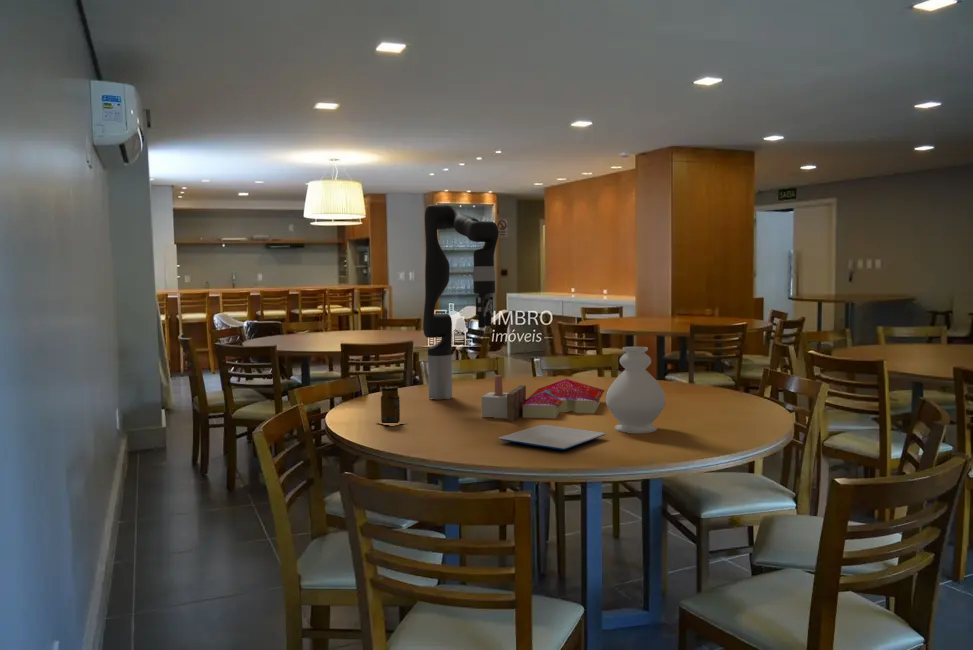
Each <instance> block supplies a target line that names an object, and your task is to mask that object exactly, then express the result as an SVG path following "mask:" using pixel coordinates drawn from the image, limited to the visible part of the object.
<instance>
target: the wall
mask: <svg viewBox="0 0 973 650" xmlns="http://www.w3.org/2000/svg"><path fill="white" fill-rule="evenodd" d="M526 388H527V384H524V385H523V384H520V385H518V386H516V387H515V388H514V389H512V390H510V391H509V392H507V393H508V394H507V418H506V419H507V422H510V423H511V422H514V421H516V420H517V419H518V418H519V417H520V416H521V415H522V416H523V405H521V404H522V403H523V402H524V401H525V400H526V399H527V389H526ZM520 405H521V407H520ZM518 406H519V407H518Z"/></svg>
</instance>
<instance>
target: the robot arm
mask: <svg viewBox="0 0 973 650" xmlns="http://www.w3.org/2000/svg"><path fill="white" fill-rule="evenodd" d="M449 229H454V231H456V232H457V234H460V235H461V236H464V237H466V238H467V239H468V240H469V241H471V242H473V243H474V242H475V243H484V245H483V247H481V248H479V249H475V250H474V251H473V271H472V278H473V279H472V281H473V282H472V283H473V286H472V287H473V294H475V295H478V297H475V316H477V319H478V321H477V322H478V323H477V324H478V326H477V327H478V328H479V329H482V328H483V329H484V328H485V327H492V315H493V313H494V296H492V295H491V294H495V293H496V271H495V252H496V246H497V242H498V240H499V234H500V232H499V227H498V225H497V223H495V222H494V221H481V220H480V221H479V220H478V219H477V218H476V217H472V216H469V215H467V214H463V213H462V212H460V211H459V210H457V209H456V208H455V207H454V206H452V205H450V204H449V205H448V204H429V205H428V206H426V208H425V211H424V231H425V233H424V235H425V269H424V272H425V273H424V279H425V280H424V282H425V284H424V286H425V287H424V289H425V290H424V291H425V292H424V293H425V295H424V297H425V298H424V307H423V308H424V309H423V320H422V321H423V322H422V325H423V326H422V331H423V334H424V336H425V338H427V339H428V338H430V339H433V338H441V340H440V341H438V343H436V344H434V345H432V346H430V347H429V346H428V347H429V348H427V370H428V371H427V373H428V374H427V375H428V377H427V378H428V399H429V398H433V399H446V398H451V397H452V398H453V367H452V366H453V365H452V363H453V361H452V345H453V344H452V341H453V340H452V339H453V338H452V337H453V335H452V334H453V319H452V317H451V315H450V314H449V313H435V308H436V306H437V302H438V300H439V299H440V297H442V294H443V293H444V291H445V290H446V288H447V286H448V284H449V282H450V263H449V260H448V257H447V256H446V254H445V252H444V251H443V249H442V248H441V245H440V242H439V238H438V230H449ZM452 398H451V399H452Z"/></svg>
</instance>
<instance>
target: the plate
mask: <svg viewBox="0 0 973 650" xmlns="http://www.w3.org/2000/svg"><path fill="white" fill-rule="evenodd" d="M606 435H607V433H605V432H600V431H594V430H585V429H579V428H572V427H565V426H558V425H557V426H556V425H550V424H540V425H536V426H533V427H529V428H526V429H523V430H519V431H516V432H513V433H509V434H506V435H502V436H499V437H498V439H499V440H500V441H504V442H505V441H506V442H510V443H515V444H521V445H529V446H533V447H534V446H535V447H539V448H545V447H546V448H547V449H553V450H558V451H561V450H563V451H565V450H568V449H570V448H573V447H576V446H579V445H581V444H584V443H587V442H591V441H593V440H596V439H599V438H601V437H604V436H606Z"/></svg>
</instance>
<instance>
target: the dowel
mask: <svg viewBox="0 0 973 650" xmlns="http://www.w3.org/2000/svg"><path fill="white" fill-rule="evenodd" d="M494 392H495V396H503V393H504V392H503V375H498V374H497V375H494Z"/></svg>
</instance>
